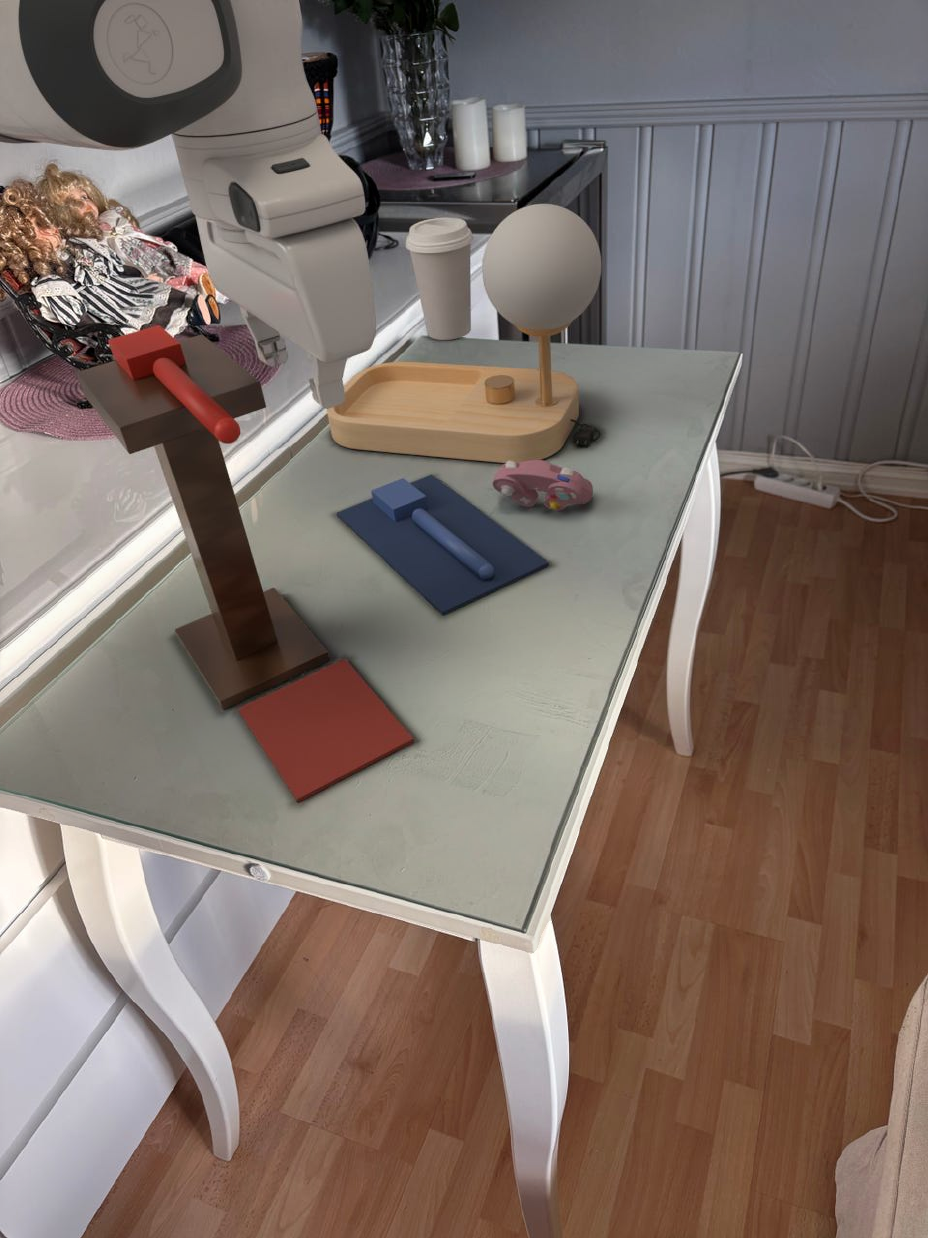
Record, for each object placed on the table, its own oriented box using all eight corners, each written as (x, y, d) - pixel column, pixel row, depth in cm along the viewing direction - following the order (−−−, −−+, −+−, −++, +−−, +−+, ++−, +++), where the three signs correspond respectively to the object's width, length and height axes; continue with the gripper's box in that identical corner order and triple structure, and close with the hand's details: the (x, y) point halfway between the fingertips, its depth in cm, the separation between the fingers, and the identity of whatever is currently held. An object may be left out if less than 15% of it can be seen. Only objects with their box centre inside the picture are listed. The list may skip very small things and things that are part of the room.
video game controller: (498, 515, 98) (482, 479, 92) (510, 479, 99) (495, 441, 93) (587, 527, 94) (577, 491, 88) (598, 490, 96) (589, 452, 90)
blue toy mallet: (508, 573, 86) (507, 559, 85) (473, 589, 85) (471, 576, 84) (405, 490, 100) (403, 477, 99) (373, 503, 98) (370, 490, 97)
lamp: (316, 446, 111) (269, 230, 95) (374, 385, 123) (340, 184, 107) (583, 471, 100) (580, 233, 84) (616, 401, 112) (619, 182, 97)
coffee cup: (493, 331, 133) (485, 224, 124) (437, 349, 130) (424, 241, 121) (460, 313, 140) (450, 211, 131) (406, 331, 137) (391, 227, 127)
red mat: (298, 803, 67) (296, 799, 67) (238, 711, 75) (237, 708, 75) (414, 742, 71) (413, 738, 71) (345, 661, 79) (344, 657, 79)
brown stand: (223, 710, 76) (119, 427, 59) (177, 637, 84) (75, 372, 68) (330, 660, 79) (260, 381, 63) (276, 595, 88) (202, 333, 71)
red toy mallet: (264, 436, 57) (258, 412, 56) (204, 457, 55) (197, 433, 54) (165, 344, 70) (159, 324, 69) (114, 359, 69) (107, 339, 68)
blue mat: (443, 615, 83) (442, 612, 83) (336, 515, 98) (336, 512, 98) (549, 565, 87) (548, 562, 87) (431, 477, 102) (431, 474, 102)
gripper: (155, 159, 62) (208, 352, 71) (274, 213, 48) (323, 446, 57) (240, 140, 65) (282, 330, 73) (377, 187, 51) (409, 414, 59)
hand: (301, 381), depth 65 cm, fingers open, 8 cm apart
